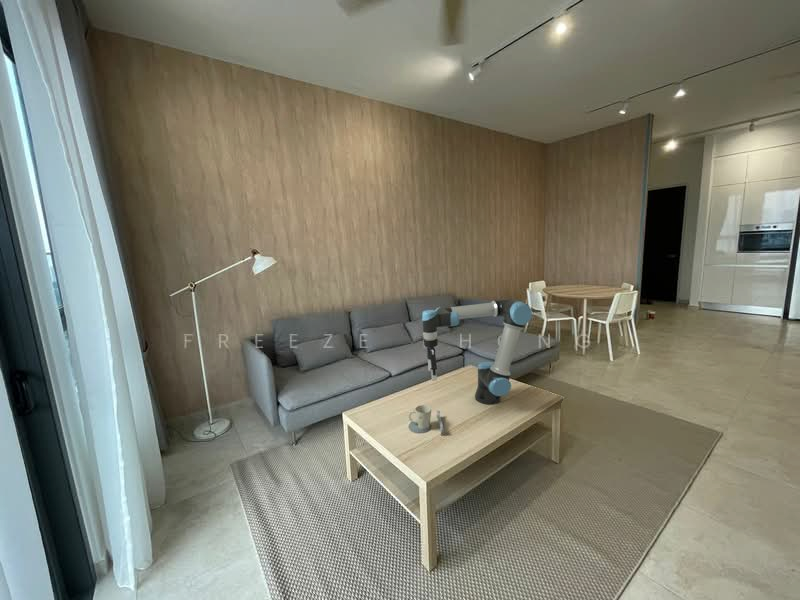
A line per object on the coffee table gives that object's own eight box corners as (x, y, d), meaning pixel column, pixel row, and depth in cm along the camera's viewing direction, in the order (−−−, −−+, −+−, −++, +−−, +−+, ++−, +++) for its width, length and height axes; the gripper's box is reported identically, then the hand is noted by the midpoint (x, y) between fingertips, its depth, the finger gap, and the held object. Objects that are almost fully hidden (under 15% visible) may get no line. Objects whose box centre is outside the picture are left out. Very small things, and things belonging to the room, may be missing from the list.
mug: (430, 431, 163) (430, 413, 162) (407, 429, 166) (406, 411, 164) (432, 422, 171) (432, 405, 170) (409, 420, 174) (409, 404, 172)
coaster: (429, 420, 175) (429, 419, 175) (432, 432, 163) (432, 432, 163) (408, 421, 175) (408, 420, 175) (408, 433, 163) (408, 433, 163)
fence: (439, 417, 177) (439, 410, 177) (444, 435, 160) (443, 428, 159) (436, 417, 177) (436, 410, 177) (440, 435, 160) (440, 428, 159)
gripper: (421, 332, 184) (423, 367, 188) (426, 346, 160) (428, 385, 163) (433, 331, 184) (435, 366, 188) (441, 345, 160) (443, 384, 163)
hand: (432, 375), depth 176 cm, fingers open, 13 cm apart
